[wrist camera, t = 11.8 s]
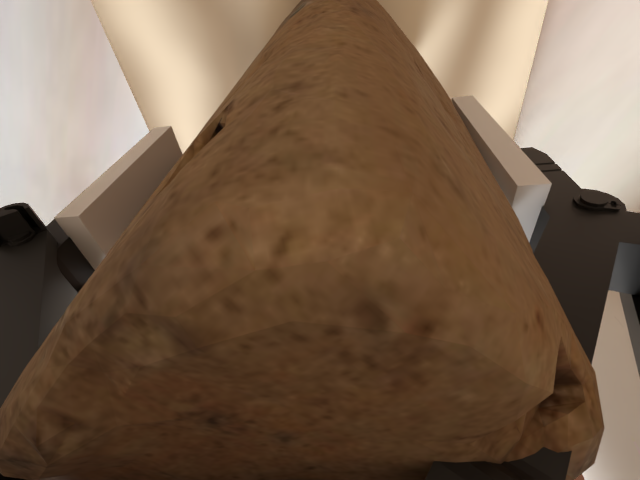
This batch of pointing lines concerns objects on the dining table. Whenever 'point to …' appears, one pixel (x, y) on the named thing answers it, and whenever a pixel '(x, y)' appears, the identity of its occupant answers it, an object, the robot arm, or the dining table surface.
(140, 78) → the peg stand
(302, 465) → the block
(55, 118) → the dining table surface
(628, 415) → the container
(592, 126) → the dining table surface
